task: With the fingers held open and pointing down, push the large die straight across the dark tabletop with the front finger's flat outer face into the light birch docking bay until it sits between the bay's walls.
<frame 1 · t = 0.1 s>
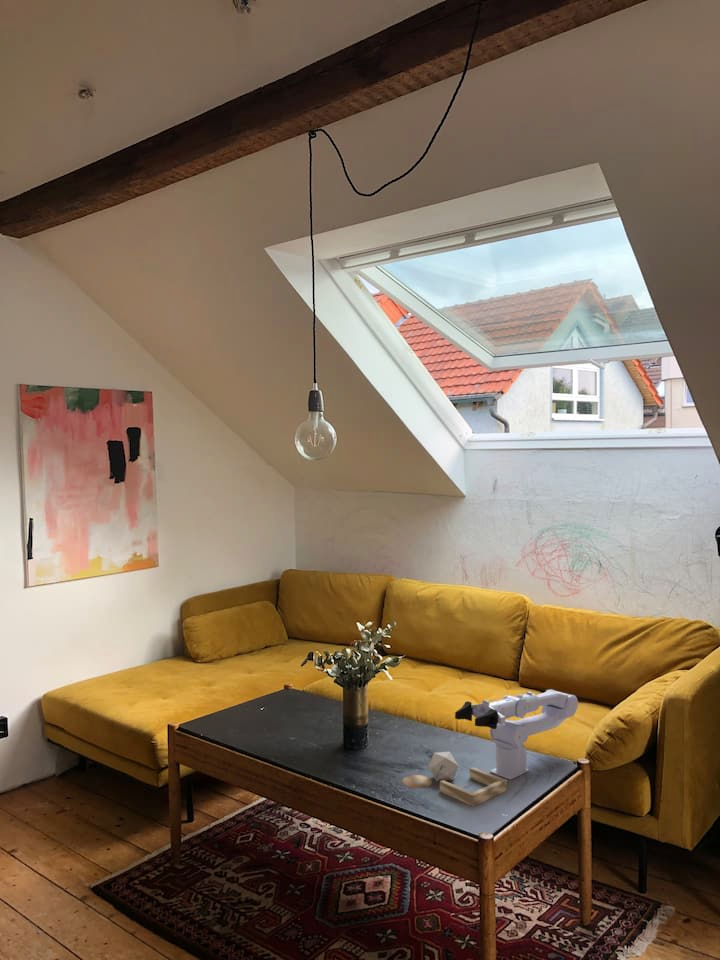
hand: (465, 718, 229), 22 cm above the table, tool horizontal, fingers open, 7 cm apart
dock: (470, 789, 231), on the table
coaster: (416, 783, 237), on the table
die: (443, 779, 239), on the table
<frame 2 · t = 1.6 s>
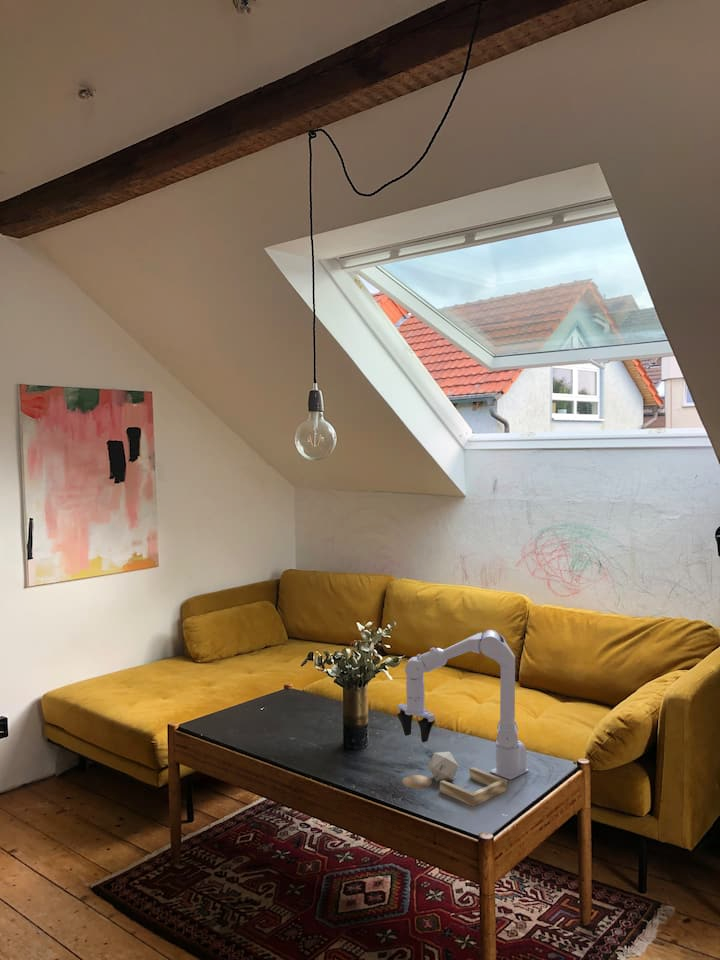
hand: (416, 738, 247), 9 cm above the table, tool pointing down, fingers open, 7 cm apart
nothing on the table moved.
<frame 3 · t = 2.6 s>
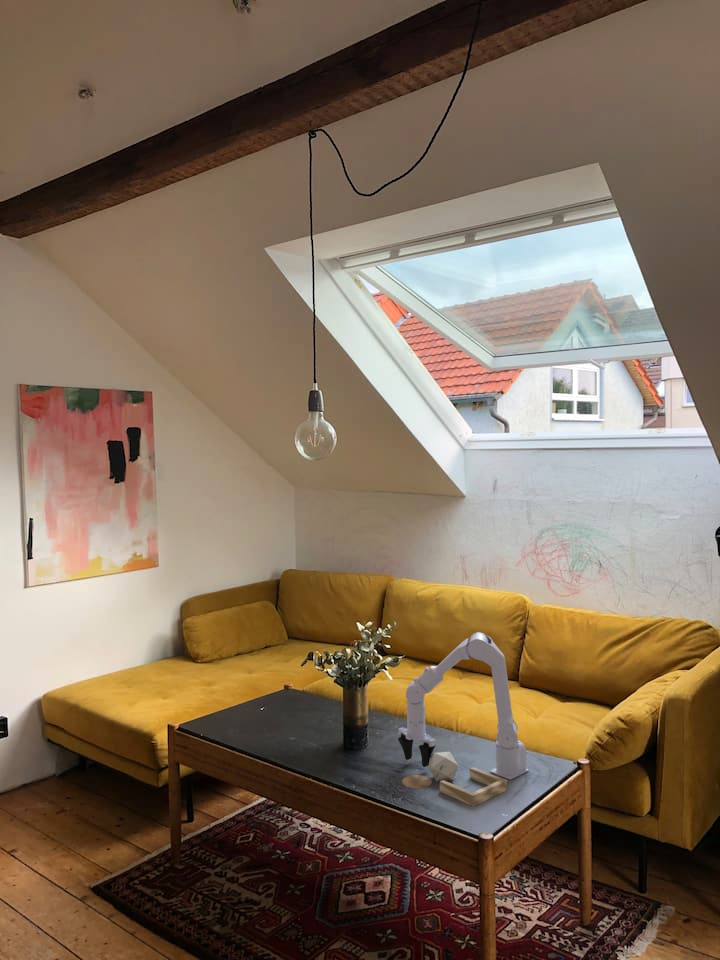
hand: (416, 762, 248), 2 cm above the table, tool pointing down, fingers open, 7 cm apart
nothing on the table moved.
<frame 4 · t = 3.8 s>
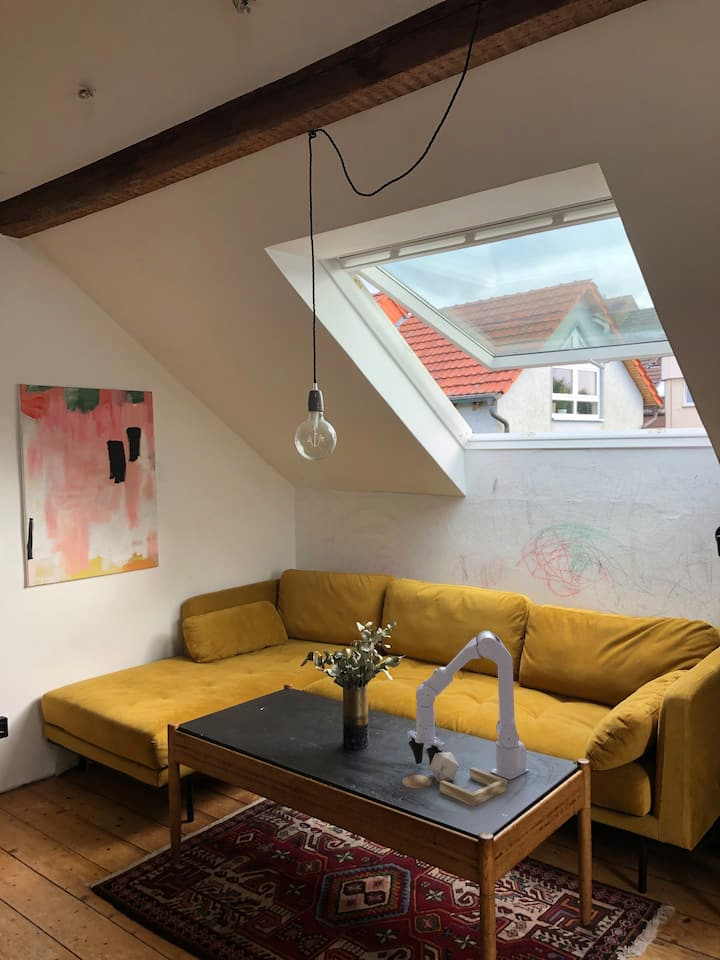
hand: (426, 766, 244), 2 cm above the table, tool pointing down, fingers open, 6 cm apart
die: (444, 779, 239), on the table, touching gripper
everything else where it was.
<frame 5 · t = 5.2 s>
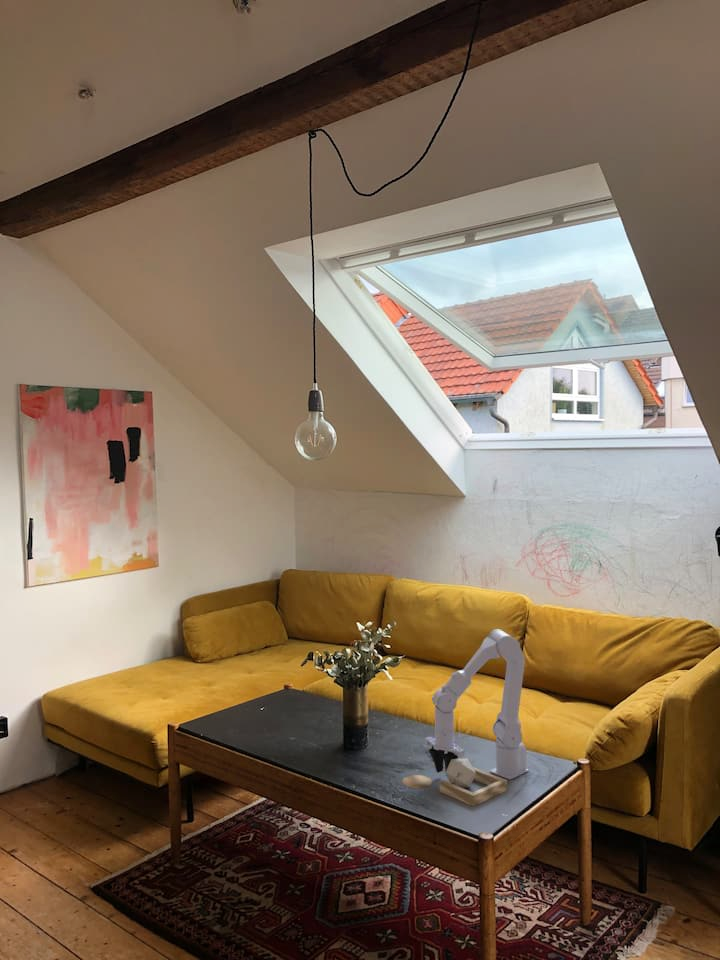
hand: (444, 773, 238), 2 cm above the table, tool pointing down, fingers open, 3 cm apart
die: (460, 786, 234), on the table, touching gripper
everything else where it was.
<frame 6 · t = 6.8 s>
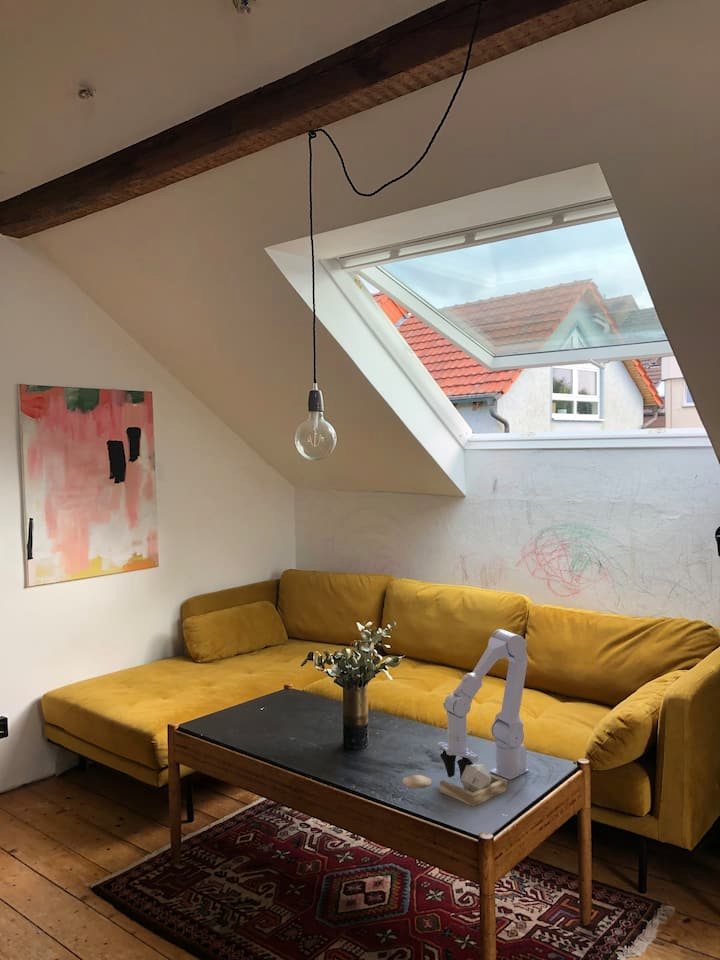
hand: (457, 779, 234), 2 cm above the table, tool pointing down, fingers open, 5 cm apart
die: (475, 792, 229), on the table, touching dock, gripper
everything else where it was.
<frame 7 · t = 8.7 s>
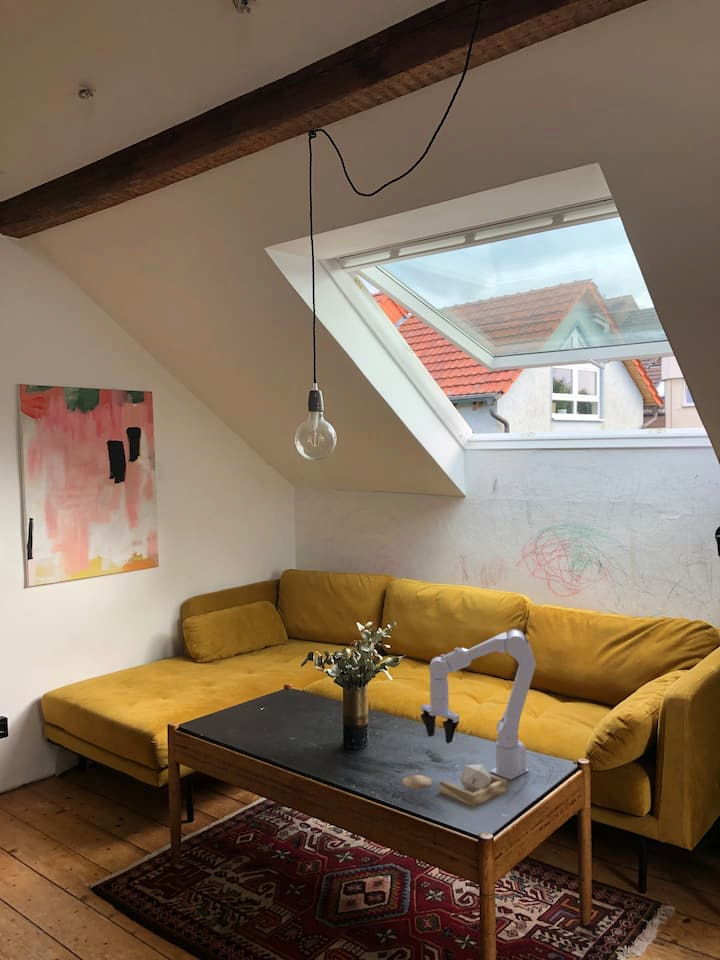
hand: (440, 739, 245), 10 cm above the table, tool pointing down, fingers open, 7 cm apart
die: (475, 792, 229), on the table
everything else where it was.
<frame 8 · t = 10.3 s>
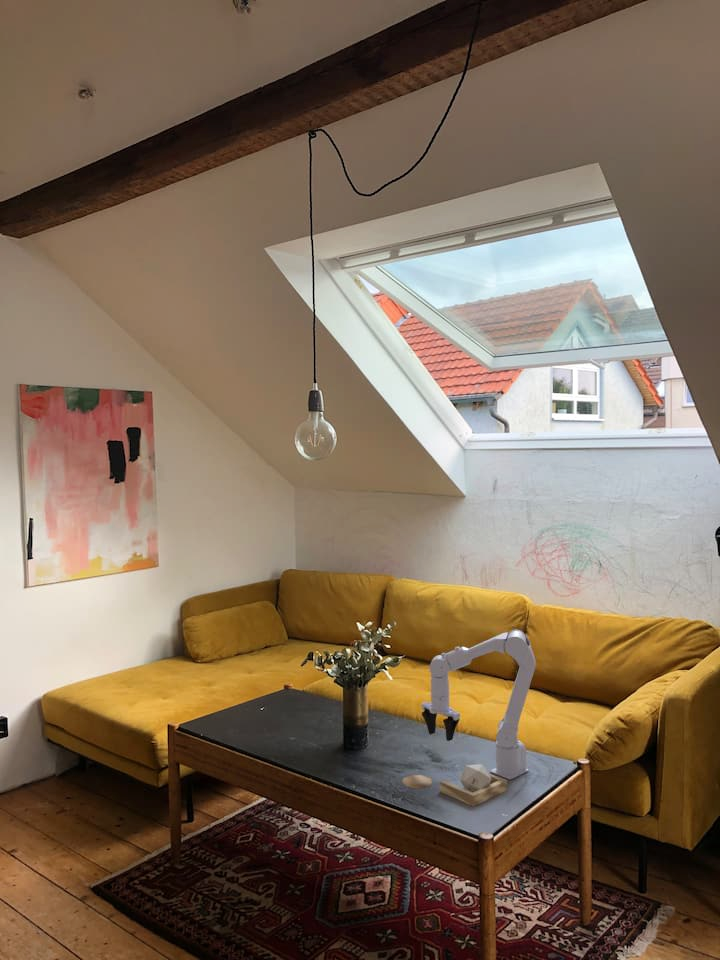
hand: (440, 736, 247), 10 cm above the table, tool pointing down, fingers open, 7 cm apart
nothing on the table moved.
at the end: die 3.0 cm from the target spot on the dock, point 0.0 cm above the dock's base; die tilted 1° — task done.
